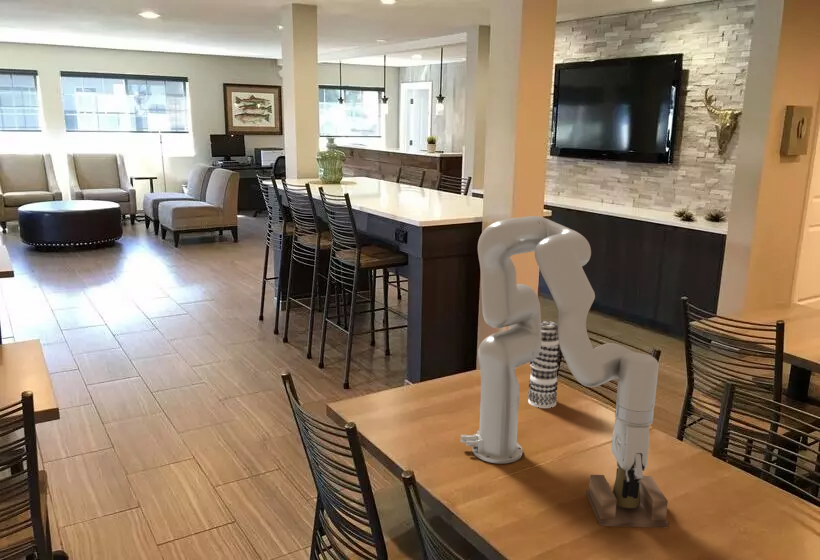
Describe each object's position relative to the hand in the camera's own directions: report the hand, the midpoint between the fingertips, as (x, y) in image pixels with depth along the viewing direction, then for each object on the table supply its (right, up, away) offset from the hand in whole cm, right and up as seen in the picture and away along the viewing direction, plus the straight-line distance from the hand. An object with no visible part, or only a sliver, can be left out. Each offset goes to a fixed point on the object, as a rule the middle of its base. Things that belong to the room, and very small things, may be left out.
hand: (626, 490), depth 139 cm
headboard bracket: (0, -5, +1) cm, 5 cm away
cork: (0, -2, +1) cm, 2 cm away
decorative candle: (-7, +8, +57) cm, 58 cm away
